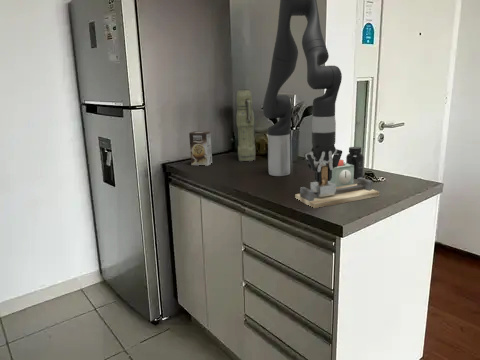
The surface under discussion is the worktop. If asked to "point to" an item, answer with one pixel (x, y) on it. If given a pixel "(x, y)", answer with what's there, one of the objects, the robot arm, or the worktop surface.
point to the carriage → (323, 184)
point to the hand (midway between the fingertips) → (323, 181)
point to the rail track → (339, 194)
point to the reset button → (341, 163)
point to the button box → (343, 175)
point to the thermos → (245, 126)
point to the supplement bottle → (356, 161)
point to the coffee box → (200, 148)
